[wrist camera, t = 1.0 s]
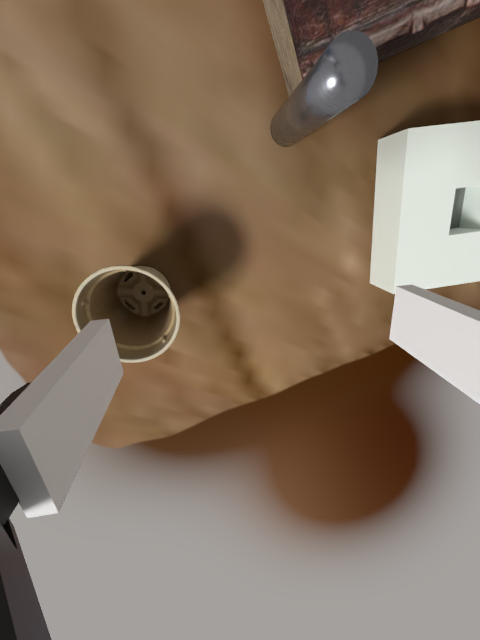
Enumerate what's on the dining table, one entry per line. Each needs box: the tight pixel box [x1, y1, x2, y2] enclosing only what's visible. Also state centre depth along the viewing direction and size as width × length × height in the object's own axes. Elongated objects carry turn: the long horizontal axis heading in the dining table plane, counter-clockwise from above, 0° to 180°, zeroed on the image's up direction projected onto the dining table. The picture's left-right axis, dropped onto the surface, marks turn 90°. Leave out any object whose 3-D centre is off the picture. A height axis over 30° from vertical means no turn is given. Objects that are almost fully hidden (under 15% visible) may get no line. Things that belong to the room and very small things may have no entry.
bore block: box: [370, 120, 480, 294], centre depth 32 cm, size 16×16×5 cm
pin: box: [270, 30, 378, 147], centre depth 23 cm, size 3×3×14 cm
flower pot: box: [72, 265, 180, 363], centre depth 30 cm, size 9×9×9 cm
